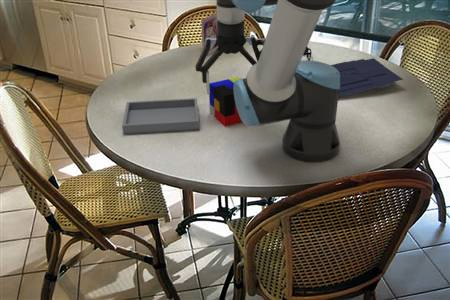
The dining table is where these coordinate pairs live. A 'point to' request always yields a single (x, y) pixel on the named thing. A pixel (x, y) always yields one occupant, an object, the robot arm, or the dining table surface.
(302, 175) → the dining table surface
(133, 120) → the tray
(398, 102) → the dining table surface
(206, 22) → the greeting card
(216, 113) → the puzzle toy
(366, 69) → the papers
